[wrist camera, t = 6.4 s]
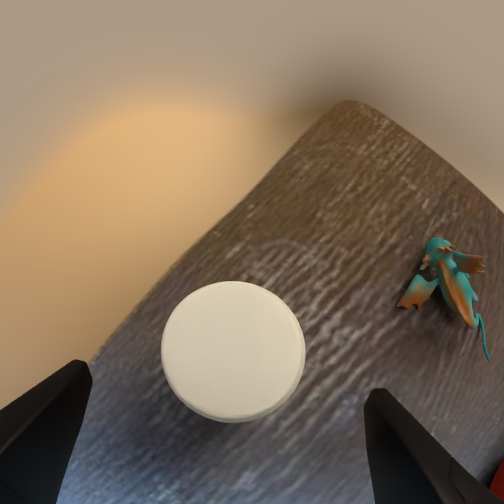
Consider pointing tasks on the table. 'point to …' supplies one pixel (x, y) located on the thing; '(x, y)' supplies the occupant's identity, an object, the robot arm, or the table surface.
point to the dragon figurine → (448, 282)
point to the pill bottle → (233, 352)
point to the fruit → (498, 482)
